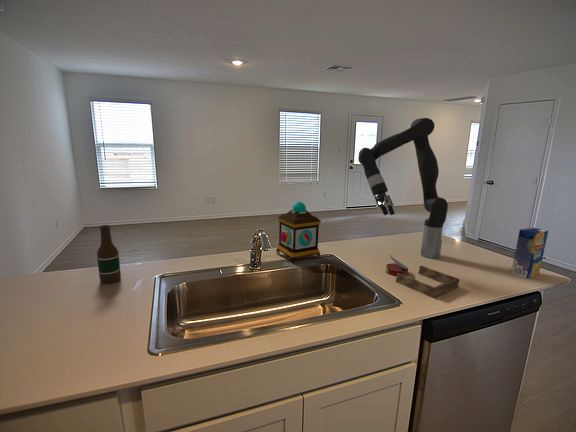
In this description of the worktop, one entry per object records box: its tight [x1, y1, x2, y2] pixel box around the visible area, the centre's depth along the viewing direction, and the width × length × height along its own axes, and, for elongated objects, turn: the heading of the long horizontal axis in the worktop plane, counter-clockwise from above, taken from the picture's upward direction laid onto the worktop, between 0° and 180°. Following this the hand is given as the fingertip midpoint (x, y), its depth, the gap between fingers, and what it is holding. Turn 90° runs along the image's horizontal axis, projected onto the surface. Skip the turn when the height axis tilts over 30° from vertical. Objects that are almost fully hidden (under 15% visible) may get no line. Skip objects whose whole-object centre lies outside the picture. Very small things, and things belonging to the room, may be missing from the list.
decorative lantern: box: [275, 201, 322, 264], centre depth 160 cm, size 20×20×30 cm
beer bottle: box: [96, 224, 122, 285], centre depth 126 cm, size 8×8×24 cm
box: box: [395, 265, 460, 299], centre depth 131 cm, size 18×18×4 cm
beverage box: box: [510, 227, 549, 279], centre depth 144 cm, size 7×11×22 cm, turn 118°
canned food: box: [385, 254, 409, 277], centre depth 143 cm, size 11×10×10 cm
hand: (389, 214), depth 149 cm, fingers open, 8 cm apart
